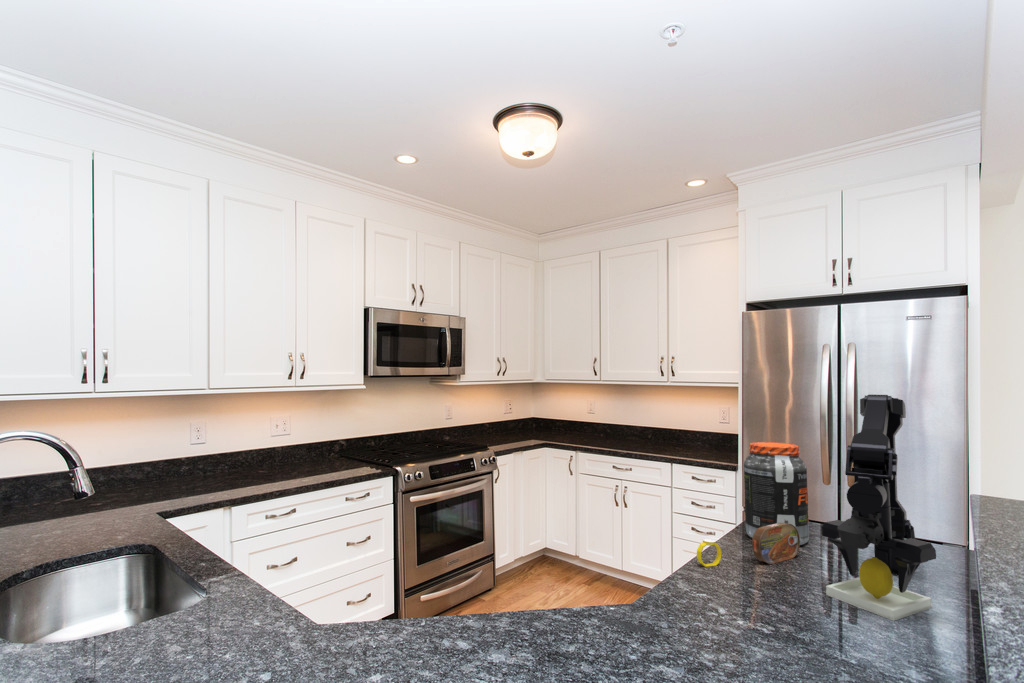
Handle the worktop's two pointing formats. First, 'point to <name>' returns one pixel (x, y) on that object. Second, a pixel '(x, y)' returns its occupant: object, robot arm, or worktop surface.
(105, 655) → the worktop surface
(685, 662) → the worktop surface
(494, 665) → the worktop surface
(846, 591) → the tray
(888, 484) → the robot arm
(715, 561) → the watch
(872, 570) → the lemon
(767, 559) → the tin
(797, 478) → the supplement tub
